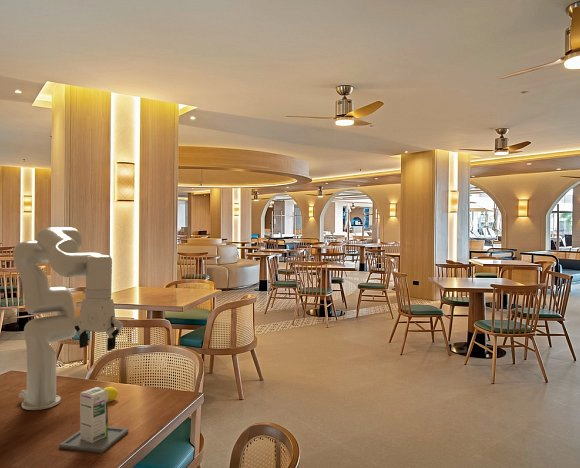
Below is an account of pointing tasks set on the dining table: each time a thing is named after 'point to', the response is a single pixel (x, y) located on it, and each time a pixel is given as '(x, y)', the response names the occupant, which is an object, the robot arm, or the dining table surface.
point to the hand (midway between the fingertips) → (97, 348)
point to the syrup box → (94, 414)
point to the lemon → (111, 393)
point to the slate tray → (96, 447)
